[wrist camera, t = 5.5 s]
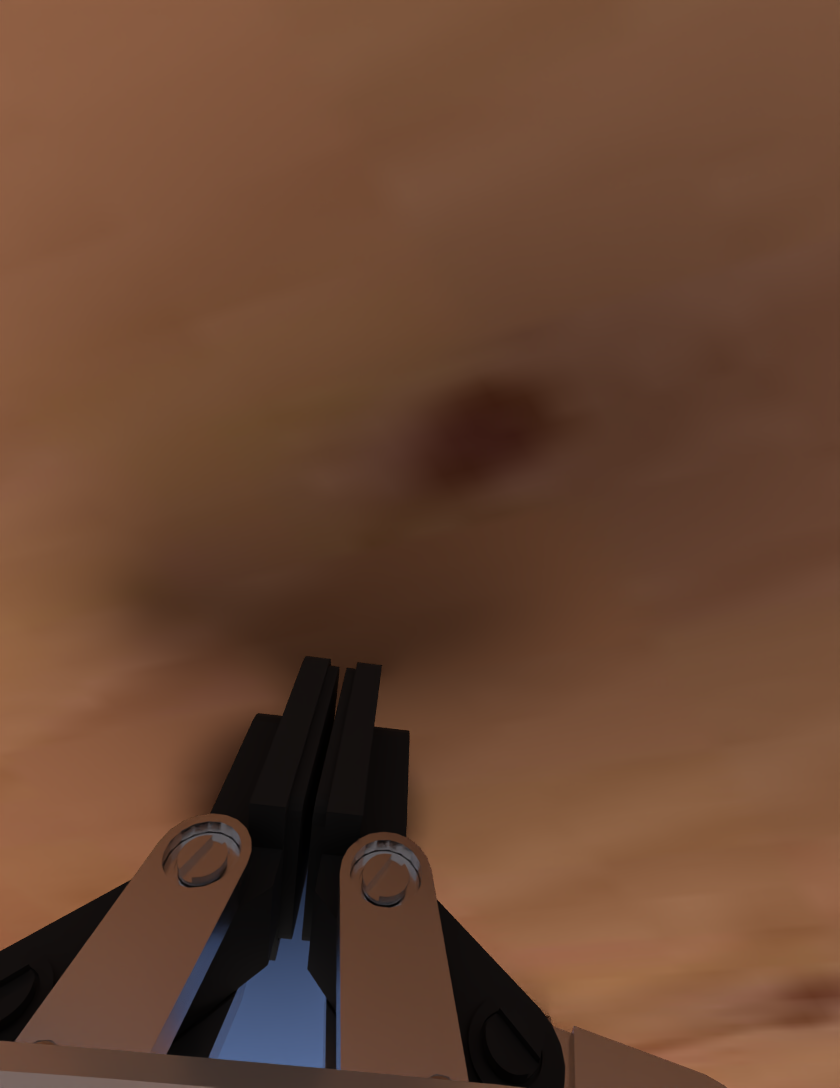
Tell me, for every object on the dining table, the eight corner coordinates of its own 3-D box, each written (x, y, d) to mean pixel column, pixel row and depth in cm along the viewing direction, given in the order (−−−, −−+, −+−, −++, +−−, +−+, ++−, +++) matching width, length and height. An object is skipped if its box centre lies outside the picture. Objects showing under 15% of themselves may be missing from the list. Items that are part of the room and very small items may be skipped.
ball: (21, 1106, 8) (115, 1082, 12) (416, 1220, 8) (368, 1154, 12) (213, 725, 12) (231, 808, 16) (470, 798, 12) (420, 862, 16)
